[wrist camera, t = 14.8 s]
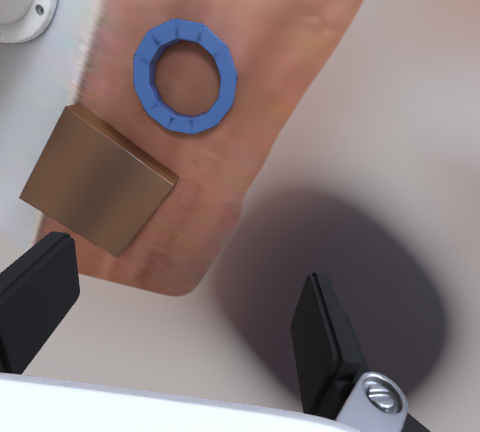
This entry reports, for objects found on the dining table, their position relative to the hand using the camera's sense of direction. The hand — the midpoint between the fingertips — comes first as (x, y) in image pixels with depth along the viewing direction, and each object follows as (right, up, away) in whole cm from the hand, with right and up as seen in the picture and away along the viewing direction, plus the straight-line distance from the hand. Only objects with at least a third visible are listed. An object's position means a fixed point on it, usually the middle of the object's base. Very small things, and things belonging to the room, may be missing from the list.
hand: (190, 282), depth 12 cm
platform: (-16, +7, +26) cm, 32 cm away
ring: (-4, +18, +21) cm, 27 cm away
